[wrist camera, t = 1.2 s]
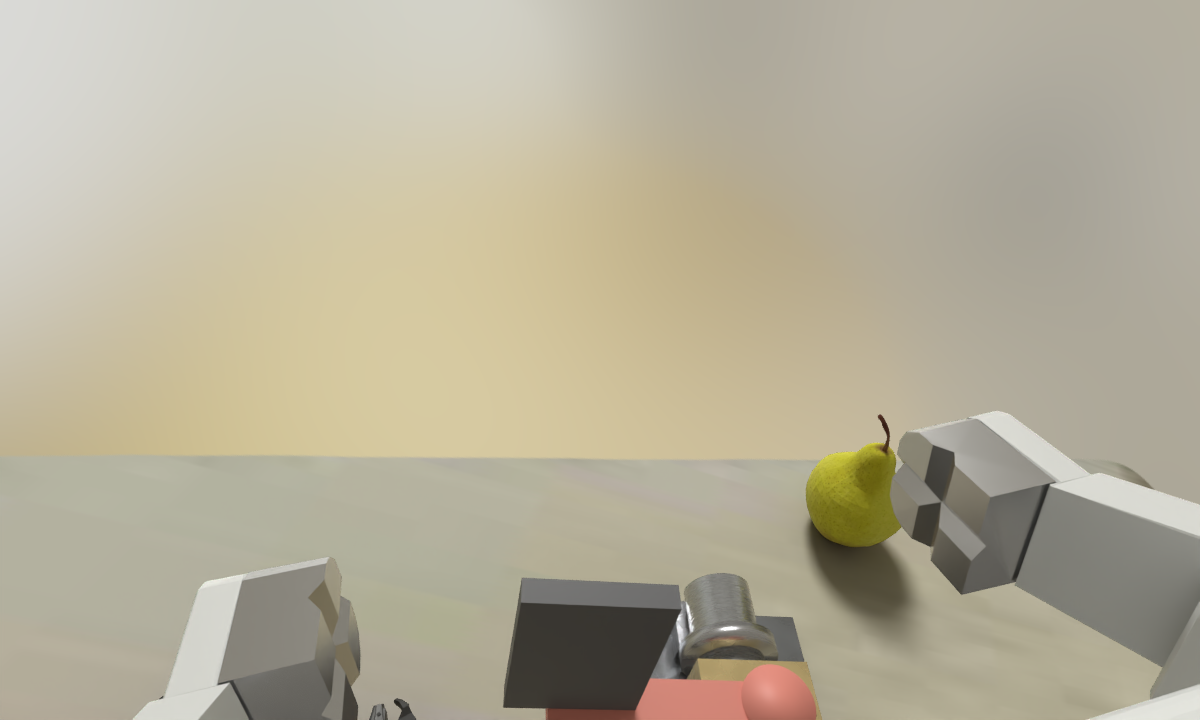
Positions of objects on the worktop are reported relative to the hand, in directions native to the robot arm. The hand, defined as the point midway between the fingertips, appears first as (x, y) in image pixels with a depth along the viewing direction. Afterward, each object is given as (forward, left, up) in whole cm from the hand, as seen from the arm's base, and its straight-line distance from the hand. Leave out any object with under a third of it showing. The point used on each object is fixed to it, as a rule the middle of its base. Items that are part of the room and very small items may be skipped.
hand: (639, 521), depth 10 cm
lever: (+7, +8, -26) cm, 28 cm away
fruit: (+24, +25, -34) cm, 49 cm away
